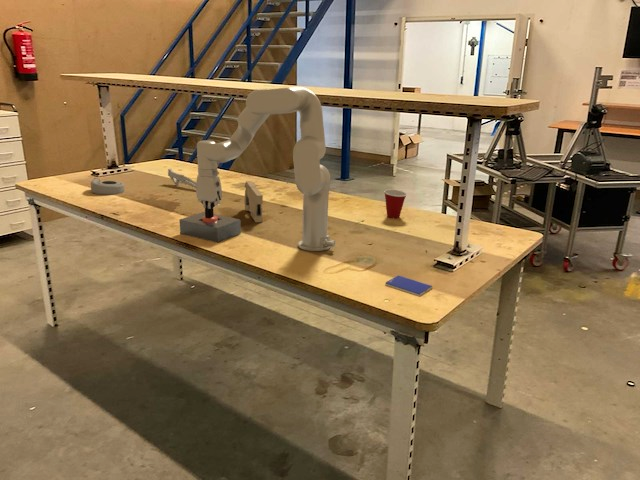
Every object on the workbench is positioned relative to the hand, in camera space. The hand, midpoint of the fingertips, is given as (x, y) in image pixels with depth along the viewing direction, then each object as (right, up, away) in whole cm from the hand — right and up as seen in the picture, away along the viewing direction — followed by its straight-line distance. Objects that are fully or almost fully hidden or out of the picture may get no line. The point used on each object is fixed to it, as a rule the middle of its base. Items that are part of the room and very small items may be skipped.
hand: (209, 217), depth 208 cm
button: (0, -3, +1) cm, 3 cm away
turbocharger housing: (-68, +16, +65) cm, 96 cm away
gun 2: (+14, +2, +29) cm, 32 cm away
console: (0, -7, +2) cm, 7 cm away
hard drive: (+73, -25, -43) cm, 89 cm away
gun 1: (-30, +20, +79) cm, 87 cm away
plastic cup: (+79, +1, +33) cm, 86 cm away
